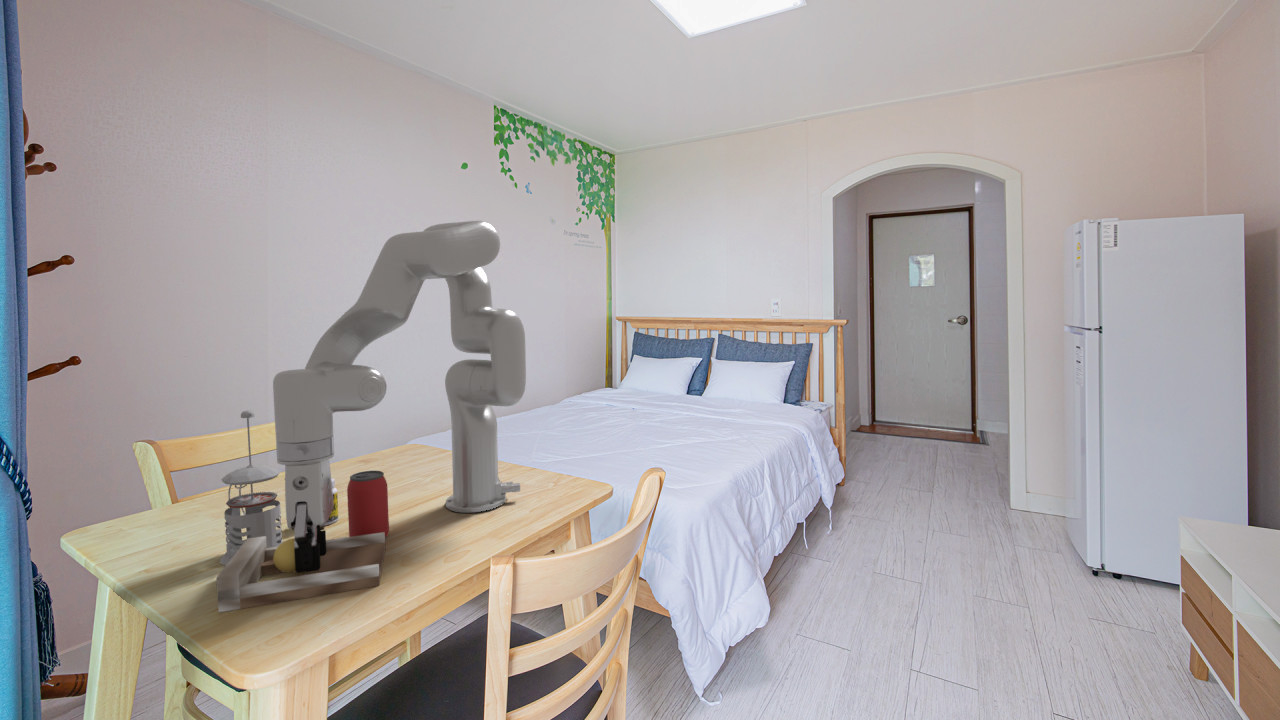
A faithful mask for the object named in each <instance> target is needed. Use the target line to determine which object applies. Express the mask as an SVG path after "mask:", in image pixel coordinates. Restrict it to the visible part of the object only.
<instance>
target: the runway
mask: <svg viewBox="0 0 1280 720" xmlns="http://www.w3.org/2000/svg"><path fill="white" fill-rule="evenodd" d="M246 539H247V538H246ZM277 547H278V546H277ZM277 547H270V548H267V545H266V536H263V537H255V538H248V539H247V540H246V541H245V542H244V544H243V545H242V546H241V547H240V549H239V550H238V551H237V552H236V554H235V555H234V556H233V558H232V559H231V560H230V561H229V563H228V564H227V565H224V568H222V569H221V571H220V573H219V574H218V575H217V576H216V594H217V605H218V606H217V607H218V613H224V612H229V611H237V610H241V609H247V608H248V609H249V608H254V607H259V606H264V605H271V604H278V603H282V602H283V603H284V602H288V601H289V602H291V601H296V600H302V599H308V598H313V597H319V596H325V595H330V594H337V593H343V592H349V591H355V590H361V589H367V588H368V589H369V588H374V587H379V586H380V583H381V576H382V570H383V565H384V557H385V553H386V537H385V532H382V533H375V534H367V535H360V536H352V537H349V536H346V537H339V538H338V537H337V538H331V539H326V554H325V555H324V556H320V569H319V570H317V571H310V572H304V574H303V575H299V576H297V575H296V576H292V577H291V576H290V577H285V578H277V579H272V580H264V581H260V579H261V577H262V576H265V575H271V574H272V575H273V574H279V573H284V572H283V571H281V570H279V569H278V568H277V567H276V566H275V564H274V561H273V556H274V553H275V550H276V549H277Z"/></svg>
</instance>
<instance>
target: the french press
mask: <svg viewBox="0 0 1280 720" xmlns="http://www.w3.org/2000/svg"><path fill="white" fill-rule="evenodd" d="M254 417H255V412H254V411H252V410H244V411H242V412H241V414H240V419H246V426H247V428H246V429H247V441H248V443H247V444H248V461H249V465H247V466H244V467H240V468H237V469H235V470H233V471H231V472H229V473H228V474H227V473H226V475H225V476H224V477H222V478H221V479H220V480H221V482H222V483H223V484H225V485H229V488H228V490H227V491H228V493H227V494H228V500H227V501H226V503H225V504H226V506H228V508H227V509H225V511H224V520H225V521H224V523H225V524H224V527H225V528H226V529H225V542H226V544H225V545H226V552H225V553H224V554H223V555H222V556H221V557H220V559H219V563H220V564H221V565H223V566H226V565H227V564H228V563H229V561H230V560H231V559H232V558H233V556H234V555H235V554H236V552H237V551H238V550H239V549H240V547H241V546H242V545H243V544H244V542H245V541H246V540H247V539H248V538H255V537H263V536H266V545H267V548H270V547H277V546H279V545H280V544H281V543H283V542H284V540H283V536H282V535H283V532H282V516H281V514H282V511H281V509H282V508H281V502H280V501H279V500H277V497H278V493H276V492H274V491H258V492H257V491H256V492H254V489H253V488H254V487H253V486H254V485H253V484H259V483H260V484H261V483H264V482H268V481H271V480H274V479H275V478H277V477H278V476H279V475H280V470H278V469H276V468H275V467H271V466H267V465H254V464H252V453H251V438H250V437H251V433H250V418H254ZM248 485H250V492H249V493H244V494H242V493H241V492H242V489H244V488H245V487H247V486H248ZM233 486H234V488H235V489H237V490H238V495H237V496H234V497H232V498H231V488H232V487H233ZM272 506H274V507H273V508H271V509H267V510H264V509H265V508H266V507H272ZM241 512H242V513H243V515H241ZM276 521H277V522H276ZM276 528H277V529H276ZM242 529H246V531H244V532H242ZM243 537H246V538H245V539H243Z"/></svg>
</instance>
